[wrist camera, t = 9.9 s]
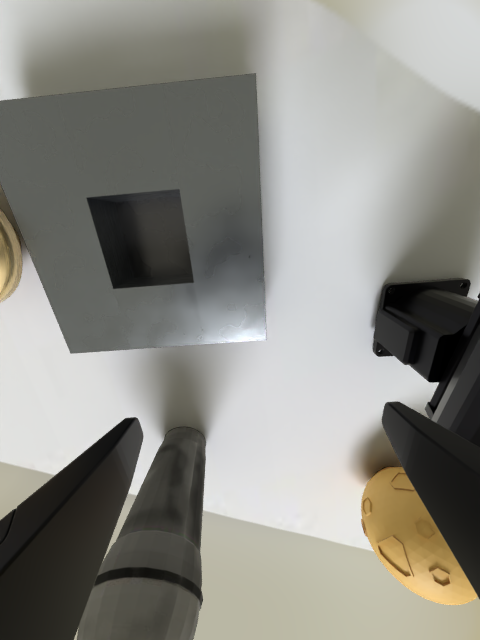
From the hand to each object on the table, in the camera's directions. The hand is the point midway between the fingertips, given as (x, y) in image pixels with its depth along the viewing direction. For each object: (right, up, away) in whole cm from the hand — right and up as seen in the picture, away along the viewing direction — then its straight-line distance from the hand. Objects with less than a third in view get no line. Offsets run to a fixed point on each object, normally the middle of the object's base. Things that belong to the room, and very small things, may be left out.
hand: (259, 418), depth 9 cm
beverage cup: (-7, -10, +17) cm, 21 cm away
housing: (-6, +10, +9) cm, 15 cm away
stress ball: (+17, -14, +19) cm, 29 cm away
